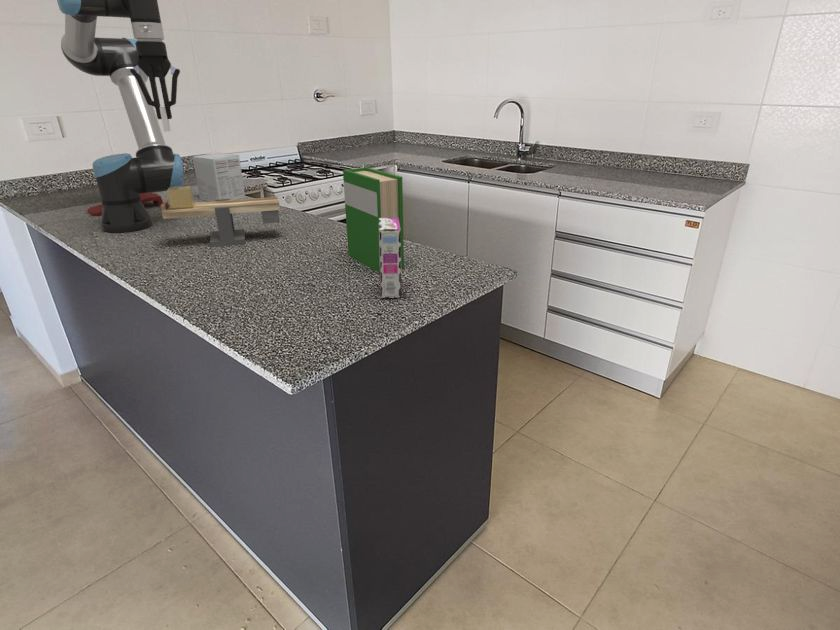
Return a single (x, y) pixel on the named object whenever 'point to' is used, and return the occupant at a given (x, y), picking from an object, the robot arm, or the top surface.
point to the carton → (144, 199)
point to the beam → (264, 205)
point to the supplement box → (219, 176)
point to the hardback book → (370, 211)
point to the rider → (180, 197)
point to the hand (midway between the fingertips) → (167, 130)
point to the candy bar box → (390, 257)
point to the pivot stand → (226, 229)
